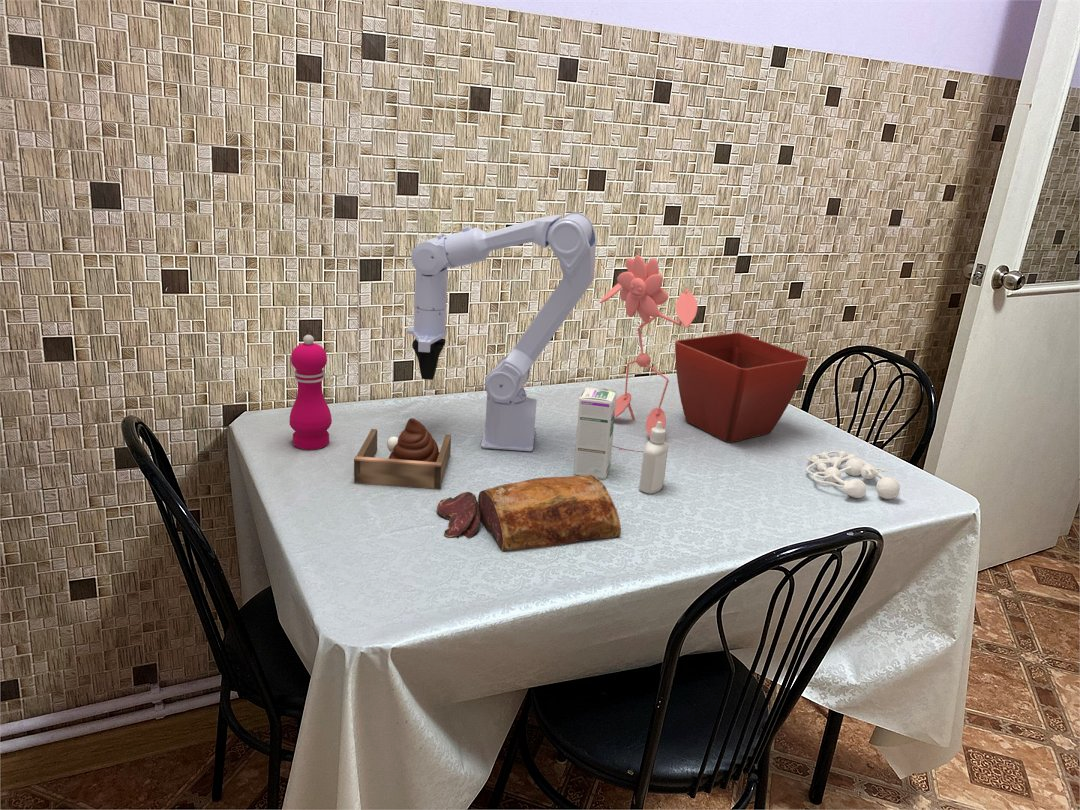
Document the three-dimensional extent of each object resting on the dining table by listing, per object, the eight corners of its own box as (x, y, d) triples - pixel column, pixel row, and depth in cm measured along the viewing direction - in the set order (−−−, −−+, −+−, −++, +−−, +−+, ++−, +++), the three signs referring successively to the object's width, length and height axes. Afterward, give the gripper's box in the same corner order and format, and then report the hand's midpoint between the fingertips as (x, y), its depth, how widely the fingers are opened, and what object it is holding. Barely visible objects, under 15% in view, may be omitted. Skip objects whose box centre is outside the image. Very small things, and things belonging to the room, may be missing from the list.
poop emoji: (416, 484, 138) (417, 432, 135) (375, 471, 142) (375, 419, 139) (451, 464, 146) (453, 414, 143) (411, 452, 150) (412, 402, 147)
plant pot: (796, 437, 170) (811, 357, 164) (729, 453, 160) (743, 368, 154) (727, 405, 185) (739, 331, 179) (662, 419, 174) (672, 340, 168)
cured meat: (424, 505, 132) (425, 466, 129) (568, 486, 142) (572, 450, 139) (461, 567, 117) (463, 523, 114) (619, 541, 127) (625, 500, 124)
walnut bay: (450, 455, 150) (451, 433, 148) (440, 489, 137) (441, 465, 135) (371, 449, 150) (371, 427, 148) (354, 482, 137) (353, 458, 135)
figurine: (610, 405, 180) (625, 240, 167) (698, 449, 161) (722, 267, 148) (552, 418, 171) (563, 245, 158) (638, 466, 152) (659, 274, 139)
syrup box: (605, 480, 145) (614, 401, 140) (572, 475, 146) (579, 396, 141) (610, 467, 150) (618, 390, 145) (577, 462, 151) (584, 385, 146)
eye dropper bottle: (672, 490, 143) (681, 424, 139) (645, 495, 140) (653, 429, 136) (656, 479, 146) (665, 415, 142) (630, 485, 144) (637, 419, 139)
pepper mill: (281, 445, 149) (277, 336, 142) (306, 432, 155) (304, 326, 148) (315, 454, 146) (313, 343, 139) (340, 440, 152) (338, 333, 145)
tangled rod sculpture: (786, 461, 162) (788, 441, 160) (860, 459, 162) (863, 439, 161) (824, 506, 143) (826, 483, 142) (907, 503, 144) (910, 480, 143)
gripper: (413, 295, 158) (411, 364, 163) (401, 315, 144) (399, 389, 149) (451, 298, 158) (448, 367, 163) (442, 318, 145) (439, 392, 149)
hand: (427, 378), depth 156 cm, fingers closed
